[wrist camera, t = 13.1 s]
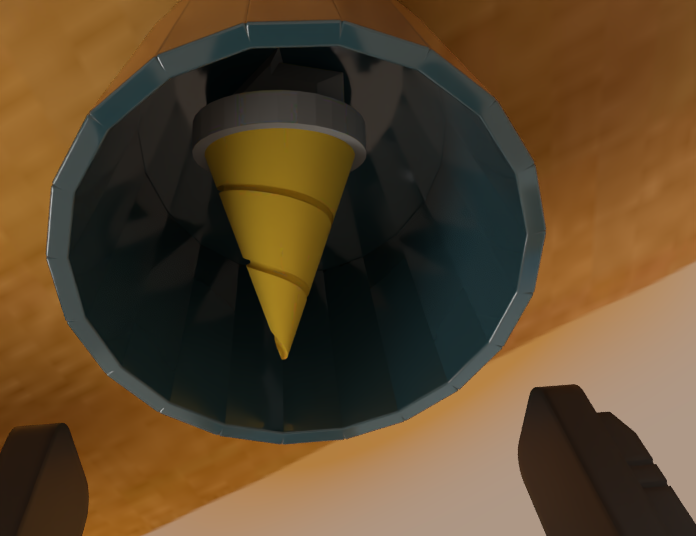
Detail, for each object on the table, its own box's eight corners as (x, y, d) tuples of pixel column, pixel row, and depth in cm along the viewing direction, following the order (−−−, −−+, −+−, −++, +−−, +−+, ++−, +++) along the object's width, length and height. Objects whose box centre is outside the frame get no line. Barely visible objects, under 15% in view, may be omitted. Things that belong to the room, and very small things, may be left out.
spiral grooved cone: (389, 59, 21) (404, 356, 19) (261, 98, 24) (265, 363, 22) (303, -28, 16) (312, 352, 15) (155, 32, 19) (149, 362, 17)
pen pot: (158, 281, 25) (108, 459, 17) (93, -37, 19) (-28, 28, 11) (440, 265, 26) (508, 427, 18) (469, -43, 20) (590, 14, 12)
